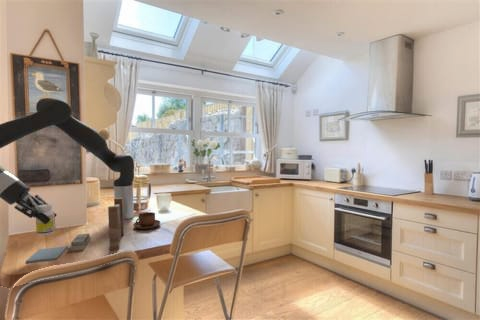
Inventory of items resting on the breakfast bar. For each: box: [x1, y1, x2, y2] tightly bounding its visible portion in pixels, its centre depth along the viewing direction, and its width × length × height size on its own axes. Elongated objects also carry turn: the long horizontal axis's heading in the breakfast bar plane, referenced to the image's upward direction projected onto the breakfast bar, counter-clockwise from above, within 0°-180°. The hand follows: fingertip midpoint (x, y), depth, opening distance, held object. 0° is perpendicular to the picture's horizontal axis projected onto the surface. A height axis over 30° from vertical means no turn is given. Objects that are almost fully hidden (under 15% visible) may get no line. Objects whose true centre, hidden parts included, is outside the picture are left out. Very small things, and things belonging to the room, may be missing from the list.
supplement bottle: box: [35, 203, 56, 236], centre depth 96 cm, size 5×5×10 cm
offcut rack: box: [67, 197, 125, 253], centre depth 106 cm, size 17×17×16 cm
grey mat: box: [25, 245, 68, 264], centre depth 97 cm, size 11×9×1 cm
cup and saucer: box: [132, 211, 161, 230], centre depth 128 cm, size 12×12×6 cm
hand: (51, 219), depth 96 cm, fingers closed on supplement bottle, 5 cm apart
